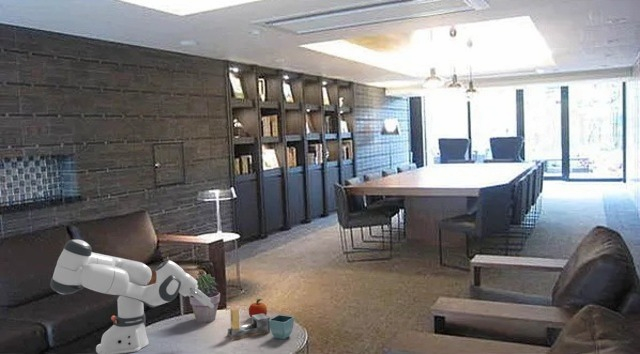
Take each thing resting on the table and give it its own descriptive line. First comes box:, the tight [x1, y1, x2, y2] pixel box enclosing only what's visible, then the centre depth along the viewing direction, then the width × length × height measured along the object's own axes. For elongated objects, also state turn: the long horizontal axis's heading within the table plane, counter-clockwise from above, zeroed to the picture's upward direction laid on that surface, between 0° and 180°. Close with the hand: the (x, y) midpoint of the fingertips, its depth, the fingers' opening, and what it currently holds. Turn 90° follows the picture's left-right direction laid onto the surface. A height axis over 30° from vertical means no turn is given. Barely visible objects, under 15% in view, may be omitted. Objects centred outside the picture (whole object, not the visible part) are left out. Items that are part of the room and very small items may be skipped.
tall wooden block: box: [230, 307, 253, 332], centre depth 263 cm, size 10×3×12 cm, turn 119°
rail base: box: [227, 313, 271, 341], centre depth 265 cm, size 18×8×7 cm, turn 119°
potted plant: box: [188, 269, 222, 323], centre depth 286 cm, size 18×20×25 cm
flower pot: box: [269, 314, 295, 340], centre depth 259 cm, size 9×9×9 cm
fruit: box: [248, 298, 268, 319], centre depth 286 cm, size 10×10×10 cm
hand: (209, 304), depth 254 cm, fingers open, 8 cm apart
